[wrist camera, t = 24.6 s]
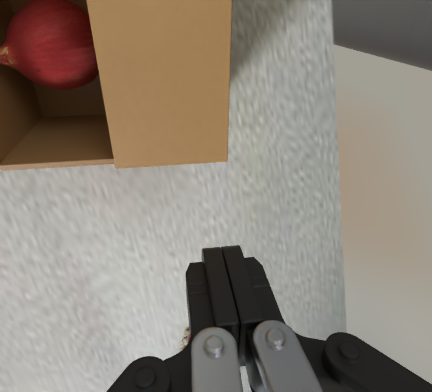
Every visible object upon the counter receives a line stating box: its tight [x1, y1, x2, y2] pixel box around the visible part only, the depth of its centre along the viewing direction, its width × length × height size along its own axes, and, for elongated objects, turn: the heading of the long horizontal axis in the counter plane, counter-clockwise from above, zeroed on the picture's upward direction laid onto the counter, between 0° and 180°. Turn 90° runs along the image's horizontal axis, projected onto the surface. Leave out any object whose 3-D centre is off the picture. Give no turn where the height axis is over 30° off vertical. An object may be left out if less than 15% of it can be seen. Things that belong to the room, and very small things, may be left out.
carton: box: [0, 0, 115, 171], centre depth 22 cm, size 15×14×10 cm
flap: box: [86, 0, 232, 168], centre depth 18 cm, size 7×14×1 cm, turn 0°
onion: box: [0, 0, 99, 90], centre depth 22 cm, size 6×6×8 cm
